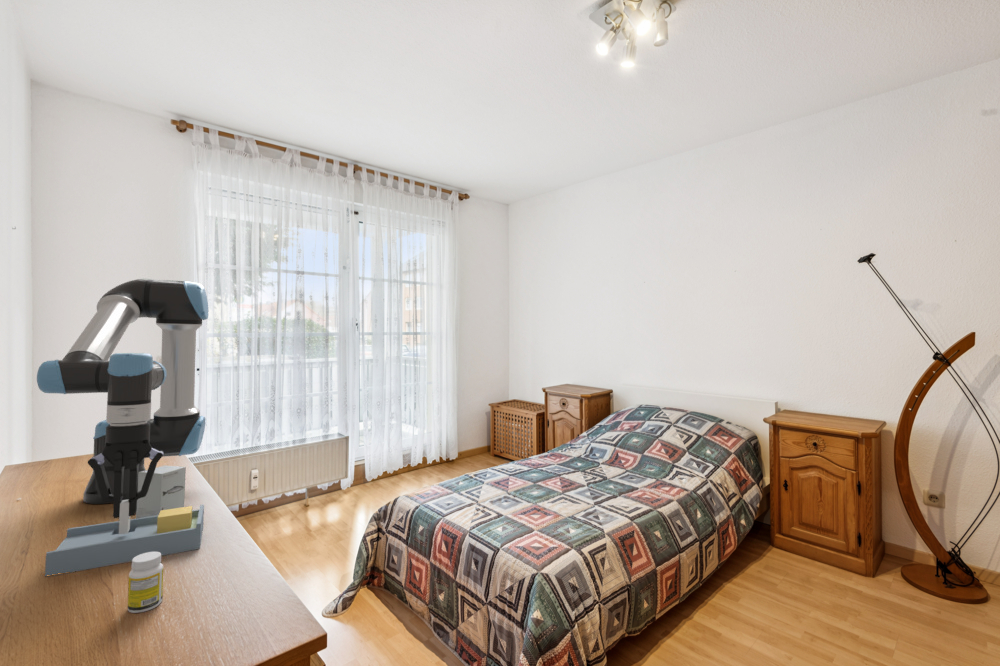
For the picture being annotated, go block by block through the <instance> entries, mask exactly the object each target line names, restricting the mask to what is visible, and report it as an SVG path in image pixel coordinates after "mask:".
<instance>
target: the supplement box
mask: <svg viewBox="0 0 1000 666" xmlns="http://www.w3.org/2000/svg"><path fill="white" fill-rule="evenodd" d="M186 468H187V467H186V466H178V465H161V466H158V467H157V466H156V469H155V472H154V475H153V478H152V481H151V484H150V487H149V490H148V492H147V494H146V496H145V497H142V498H139V499H138V500H137V511H136V513H135V519H136V518H143V517H150V516H157V515H159V513H160V511H161V510H167V509H174V508H181V507H185V493H186V472H187V471H186V470H187V469H186ZM147 471H148V469H145V471H141V472H139V474H138V492H139V491H141V489H142V486H143V483H144V480H145V477H146V474H147Z"/></svg>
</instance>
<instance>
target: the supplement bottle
mask: <svg viewBox="0 0 1000 666" xmlns="http://www.w3.org/2000/svg"><path fill="white" fill-rule="evenodd" d="M161 562H162V556H161V553H160V552H147V553H143V554H140V555H138V556H136V557H134V558H133V559H132V561H131V570H130V571H129V573H128V587H127V588H128V591H127V592H128V593H127V611H128V612H129V613H132V614H138V613H145V612H148V611H151V610H154V608H156V607H158V606H160V605H161V603H163V592H164V589H163V588H164V564H163V563H161Z"/></svg>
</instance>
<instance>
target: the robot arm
mask: <svg viewBox="0 0 1000 666" xmlns="http://www.w3.org/2000/svg"><path fill="white" fill-rule="evenodd" d="M96 303H97V304H96V312H95V314H94V315H93V316H92V318H91V319H90V321H89V322H88V324H87V325H86V326H85V328H84V329H83V330H82V332H81V334H80V335H79V336H78V338H77V339H76V341H75V342H74V343H73V345H72V346H71V348H70V349H69V350H68V352H67V353H66V355H65V356H64V357H63V358H62V359H54V360H46V361H43V362H42V363H41V364H40V366H39V367H38V369H37V371H36V372H37V373H36V384H37V387H38V389H39V390H40V391H41V392H43V393H44V394H63V395H68V394H69V395H72V394H92V393H93V394H97V393H103V394H104V393H107V398H106V399H107V400H106V403H107V404H106V419H104V420H101V421H99V422H98V423H96V425H95V430H94V436H93V456H91V458H90V459H88V460H87V464H88V465H89V467H90V468H91V469H92V473H91V476H90V478H89V480H88V482H87V484H86V487H85V489H84V492H83V499H82V500H83V503H85V504H91V505H92V504H93V505H97V504H98V505H102V504H112V506H113V507H112V508H113V509H112V517H113V519H119V520H118V521H119V534H125V533H128V531H129V529H130V519H131V517H133V516H136V511H137V500H138V499H139V498H142V497H145V496H146V494H147V492H148V490H149V487H150V484H151V481H152V478H153V475H154V472H155V469H156V468H157V465H158V462H160V460H161V459H162V458H165V457H177V456H178V457H181V456H187V455H188V456H189V455H194V454H196V453H198V451H199V450H200V448H201V445H202V442H203V438H204V434H205V430H206V429H205V428H206V420H207V419H206V417H205V416H203V415H201V412H200V411H201V410H200V409H199V408H197V407H196V406H195V387H196V385H195V384H196V348H197V347H196V346H197V331H198V329H200V327H202V326H203V321H205V320H208V318H209V301H208V296H207V292H206V289H205V286H203V284H201V283H199V282H194V281H193V282H192V281H188V280H187V281H186V280H169V279H166V280H165V279H152V278H138V279H134V280H128V281H126V282H124V283H121V284H119V285H117V286H115V287H113V288H111V289H110V290H108V291H107V292H106V293H104V294H103V295H102V297H101V298H99V300H98V302H96ZM139 318H149V319H155V324H156V325H157V326H158V327H159V328H160V329H161V357H160V358H161V361H160V362H161V363H160V362H159V361H156V360H153V355H152V354H151V353H145V352H120V353H119V352H118V353H117V352H115V353H113V352H114V351H115V349H116V347H117V345H118V344H119V342H120V341H121V339H122V338H123V335H125V333H126V331H127V329H128V327H129V325H130V324H132V323H134V322H136V321H137V320H138V319H139ZM159 387H160V393H159V394H160V395H159V396H160V399H159V400H160V401H159V402H160V403H159V409H157V410H156V411H155V412H154V413H153V418H152V416H151V415H152V413H151V412H152V391H154V390H156V389H158V388H159ZM148 458H149V460H150V462H149V465H148V467H147V470H148V471H147V474H146V477H145V480H144V483H143V486H142V489H141V491H139V492H138V474H139V472H141V471H145V470H146V468H145V459H148Z"/></svg>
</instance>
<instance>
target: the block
mask: <svg viewBox="0 0 1000 666" xmlns="http://www.w3.org/2000/svg"><path fill="white" fill-rule="evenodd" d="M192 510H193V505H189V506H184V507H181V508H174V509H167V510H161V511H160V513H159V516H158V520H157V534H160V533H166V532H172V531H178V530H184V529H190V528H191V524H192Z"/></svg>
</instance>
